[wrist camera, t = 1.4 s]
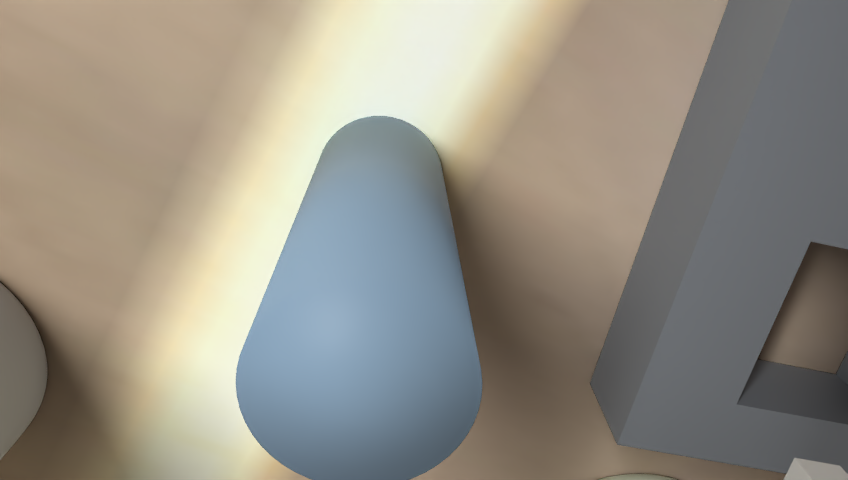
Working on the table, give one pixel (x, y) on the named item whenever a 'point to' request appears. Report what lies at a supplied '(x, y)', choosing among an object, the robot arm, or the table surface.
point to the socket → (739, 251)
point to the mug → (18, 370)
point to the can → (638, 477)
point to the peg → (365, 318)
